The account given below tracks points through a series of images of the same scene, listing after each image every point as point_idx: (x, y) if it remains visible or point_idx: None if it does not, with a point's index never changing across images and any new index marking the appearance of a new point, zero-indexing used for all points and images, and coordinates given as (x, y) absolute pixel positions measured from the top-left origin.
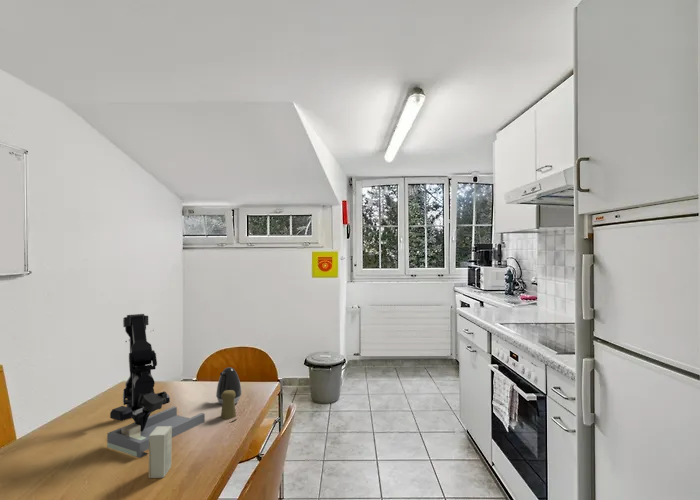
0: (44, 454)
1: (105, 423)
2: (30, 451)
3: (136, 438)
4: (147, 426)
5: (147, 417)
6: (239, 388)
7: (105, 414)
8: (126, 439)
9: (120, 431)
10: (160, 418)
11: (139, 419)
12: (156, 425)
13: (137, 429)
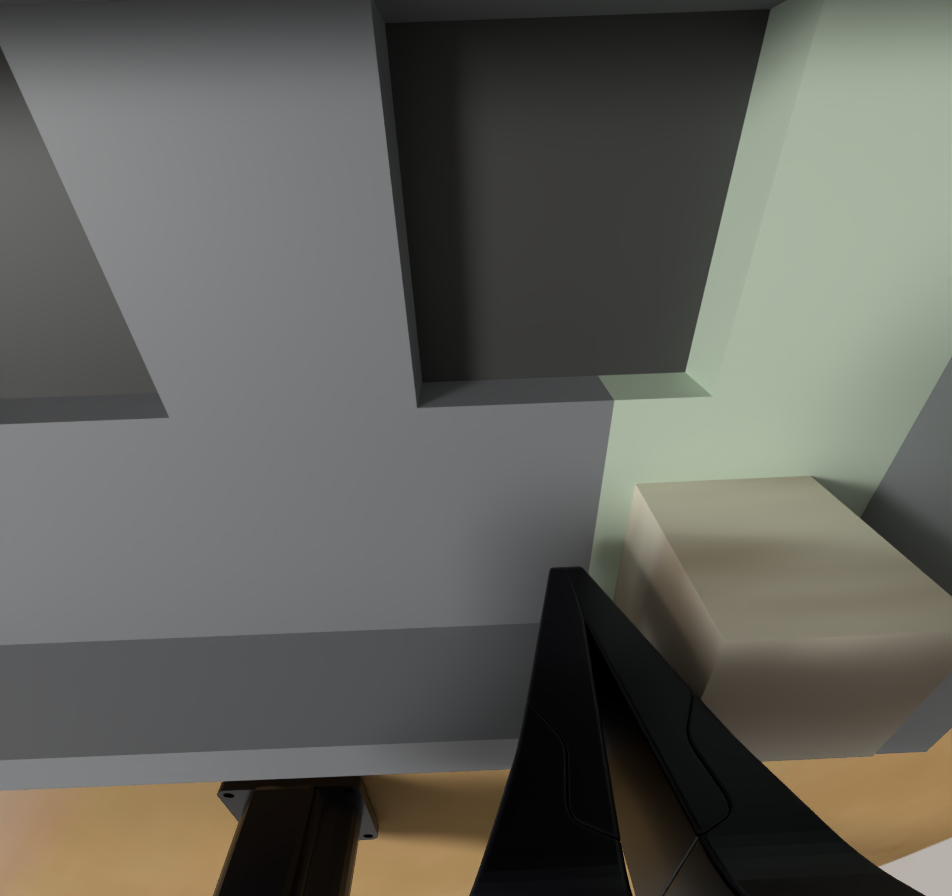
0: (943, 766)
1: (478, 832)
2: (900, 816)
3: (704, 486)
4: (387, 640)
5: (540, 781)
6: None
7: (402, 884)
8: None
9: None
10: (179, 680)
11: (807, 811)
12: (287, 600)
13: (759, 589)
